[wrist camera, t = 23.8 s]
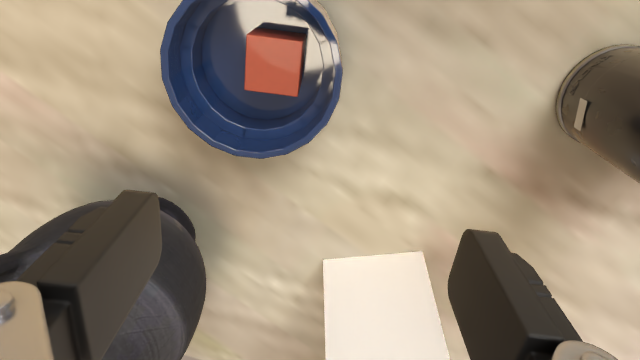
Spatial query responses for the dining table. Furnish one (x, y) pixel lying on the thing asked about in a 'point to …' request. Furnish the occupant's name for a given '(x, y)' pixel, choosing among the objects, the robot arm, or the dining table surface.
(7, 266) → the pitcher
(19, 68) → the dining table surface
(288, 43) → the block
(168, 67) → the bowl
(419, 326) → the milk
